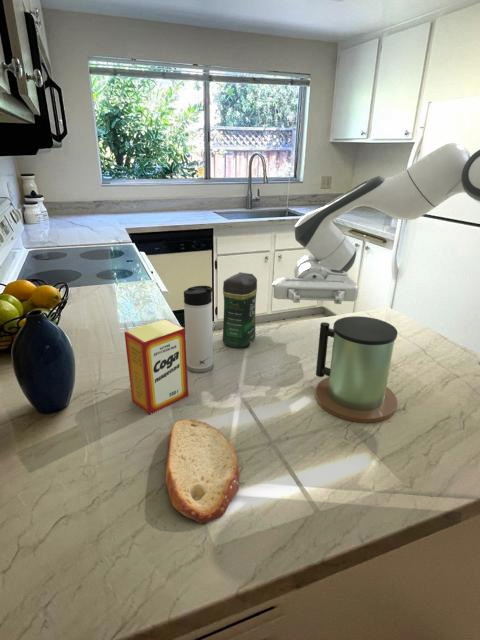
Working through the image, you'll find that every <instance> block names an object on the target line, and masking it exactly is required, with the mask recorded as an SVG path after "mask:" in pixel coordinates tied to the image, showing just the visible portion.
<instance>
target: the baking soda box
mask: <svg viewBox="0 0 480 640" xmlns="http://www.w3.org/2000/svg"><path fill="white" fill-rule="evenodd" d="M123 332H124V341H125V349H126V359H127V368H128V377H129V387H130V396H131V402H133V403H134V402H135V403H136V404H135V403H134V404H135V405H137V406H138V405H139V406H140V407H139V406H138V407H139V408H140V409H142V410H143V409H144V410H145V411H144V410H143V411H144V412H145V413H147V414H148V413H149V414H148V415H152V414H154V413H156V412H158V411H160V410H162V408H163V409H164V407H165V408H166V406H167V407H168V406H171V405H173V404H174V403H177V402H179V401H181V400H183V399H185V398H187V397H189V383H188V368H187V355H186V335H185V326H181V325H179V324H177V323H175V322H173V321H172V320H170V319H167V318H164V319H159V320H157V321H154V322H151V323H148V324H147V323H145V324H141V325H140V326H137V327H134V328H132V329H129V330H126V331H123ZM159 409H160V410H159ZM157 410H158V411H157ZM155 411H156V412H155ZM153 412H154V413H153ZM151 413H152V414H151Z"/></svg>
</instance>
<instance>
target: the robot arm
mask: <svg viewBox="0 0 480 640" xmlns="http://www.w3.org/2000/svg"><path fill="white" fill-rule="evenodd" d="M463 193H464V194H465V193H466V194H467V196H468V197H470V198H471V199H473V200H474V201H475V202H477V203H478V204H480V149H478V150H477V151H475V152H473V154H472V153H470V151H469V150H468V149H467V148H466V147H465V146H463V145H461V144H459V143H455V142H450V143H446V144H444V145H441V146H440V147H438V148H436V149H435V150H433V151H431V152H430V153H428V154H426V155H425V156H423V157H421V158H420V159H419V160H417V161H416V162H415V163H413V164H412V165H410V166H409V167H408V168H407V169H405V170H404V171H402V172H400V173H398V174H396V175H393V176H389V177H383V176H379V175H377V176H374V177H372V178H370V179H367V180H366V181H364V182H362V183H359V184H358V185H356V186H354V187H352V188H351V189H349V190H347V191H346V192H344V193H343V194H341V195H338V196H337V197H335V198H334V199H332V200H331V201H329V202H327V203H325V204H324V205H322V206H319V207H318V208H315V209H314V210H312V211H310V212H307V213H305V214H304V215H303V216H302V217H300V218H299V220H298V221H297V222H296V223H295V225H294V236H295V237H294V239H295V241H297V243H298V244H299V245H300V246H302V247H303V248H305V250H307V251H308V252H309V254H304V255H303V256H301V257H300V258H299V259H298V260H297V261H296V263H295V266H294V269H293V275H294V277H279V278H276V280H275V281H273V282H272V284H271V285H272V287H273V298H274V299H275V300H290V301H292V303H293V304H300V303H301V301H320V302H321V301H322V302H323V301H325V302H333V303H334V305H342V303H343V302H350V303H351V302H356V301H357V300H358V297H359V286H358V284H357V283H356V281H355V280H354V279H353V278H352V277H350V276H349V273H348V271H349V270H350V269H351V268H352V267H353V266H354V264H355V260H356V258H357V247H356V246H355V245H354V244H353V243H352V242H351V241H350V239H348V237H347V236H346V235H345V234H344V233H343V232H342V230H340V229H339V228H338V226H337V225H335V223H334V222H333V221H335V219H338V218H339V217H341V216H343V215H345V214H346V213H348V212H350V211H352V210H354V209H356V208H358V207H368V208H372V209H374V210H377V211H379V212H381V213H383V214H386V215H387V216H389V217H391V218H394V219H397V220H402V221H411V220H412V221H413V220H416V219H419V218H421V217H422V216H425V215H426V214H428V213H429V212H431V211H432V210H434V209H435V208H436V207H438V206H439V205H441V204H442V203H444V202H445V201H446V200H448V199H450V198H451V197H454V196H455V195H458V194H463Z"/></svg>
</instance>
